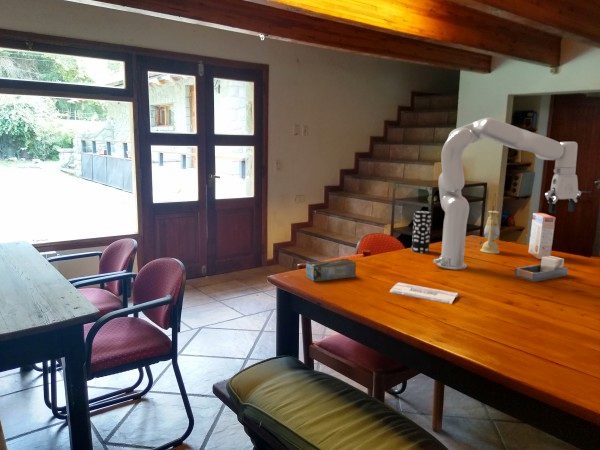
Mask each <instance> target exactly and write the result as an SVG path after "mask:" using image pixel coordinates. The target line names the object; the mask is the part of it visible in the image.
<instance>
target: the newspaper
mask: <svg viewBox="0 0 600 450" xmlns="http://www.w3.org/2000/svg"><path fill="white" fill-rule="evenodd" d="M389 293H390V294H395V295H401V296H405V297H411V298H417V299H422V300H426V301H432V302H437V303H443V304H447V305H453V302H454V300H455V298H458V297H459V295H460V294H459V292H454V291H448V290H441V289H437V288H430V287H425V286H420V285H414V284H410V283H405V282H397V283H395V285H393V286H392V287H391V289H390V290H389Z"/></svg>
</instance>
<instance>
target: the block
mask: <svg viewBox="0 0 600 450" xmlns="http://www.w3.org/2000/svg"><path fill="white" fill-rule="evenodd" d="M540 261H541V262H540V264H541V269H540V271H548V270H554V269H559V268H564V265H565V264H564V263H565V259H564V258H561V257H558V256H553V255H551V256H546V257H542V259H540Z"/></svg>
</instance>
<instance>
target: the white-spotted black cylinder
mask: <svg viewBox="0 0 600 450" xmlns="http://www.w3.org/2000/svg"><path fill="white" fill-rule="evenodd" d="M413 212H414V213H413V222H412V223H413V224H412V225H413V226H412V242H411V252H413V253H418V254H428V253H429V252H430V251H429V250H430V241H431V239H430V237H431V225H432V211H428V210H427V211H426V210H414V211H413Z"/></svg>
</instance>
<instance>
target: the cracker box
mask: <svg viewBox="0 0 600 450" xmlns="http://www.w3.org/2000/svg"><path fill="white" fill-rule="evenodd" d="M531 219H532V220H531V228H530V236H529V244H528V253H527V254H529V255H531V256H533V257H534V258H536V260H542V257H546V256H552V255H551V254H552V248H553V247H552V246H553V240H554V234H555V233H554V231H555V225H556V217H555V216H552V215H549V214H547V213H543V212H533V213H532V218H531Z"/></svg>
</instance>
